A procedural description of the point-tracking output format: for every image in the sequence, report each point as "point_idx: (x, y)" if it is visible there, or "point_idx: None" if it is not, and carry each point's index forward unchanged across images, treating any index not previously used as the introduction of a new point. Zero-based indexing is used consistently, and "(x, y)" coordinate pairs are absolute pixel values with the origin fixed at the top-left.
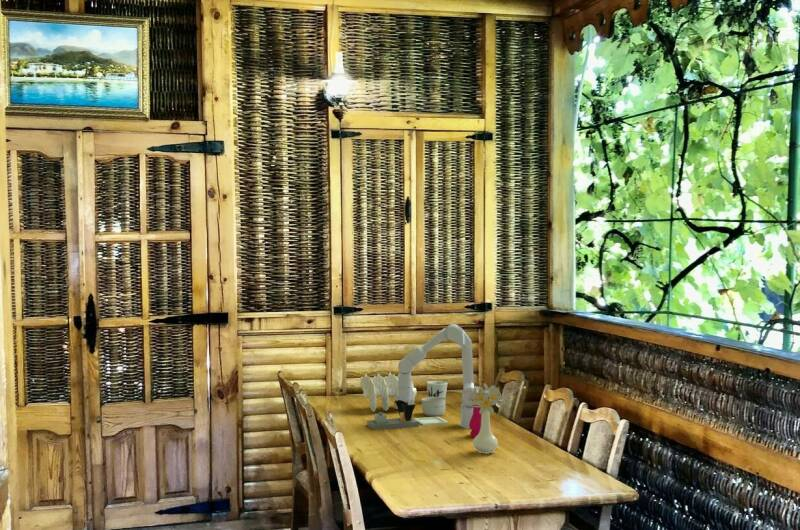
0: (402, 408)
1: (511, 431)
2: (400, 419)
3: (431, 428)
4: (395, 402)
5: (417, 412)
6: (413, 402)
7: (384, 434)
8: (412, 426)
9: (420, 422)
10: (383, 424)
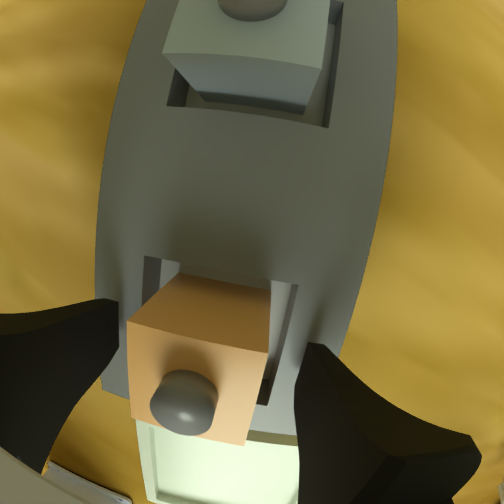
0: (315, 441)
1: None
2: (242, 306)
3: (82, 399)
4: (451, 438)
5: None
6: (502, 494)
7: (52, 41)
8: None
9: None
10: (133, 36)
